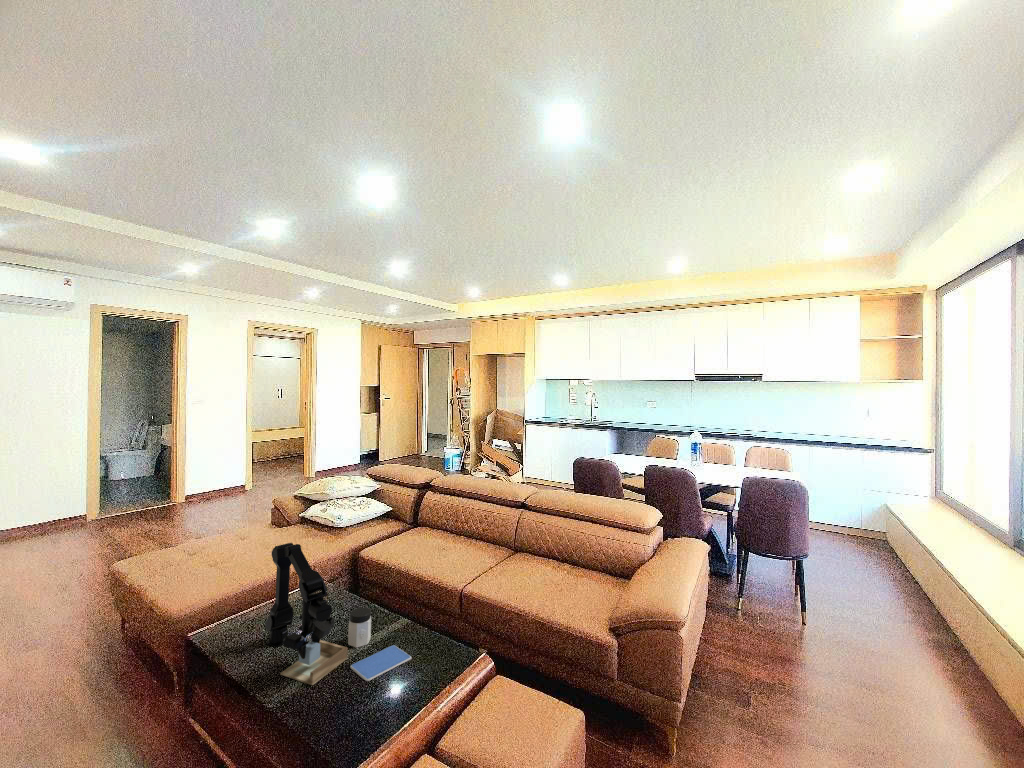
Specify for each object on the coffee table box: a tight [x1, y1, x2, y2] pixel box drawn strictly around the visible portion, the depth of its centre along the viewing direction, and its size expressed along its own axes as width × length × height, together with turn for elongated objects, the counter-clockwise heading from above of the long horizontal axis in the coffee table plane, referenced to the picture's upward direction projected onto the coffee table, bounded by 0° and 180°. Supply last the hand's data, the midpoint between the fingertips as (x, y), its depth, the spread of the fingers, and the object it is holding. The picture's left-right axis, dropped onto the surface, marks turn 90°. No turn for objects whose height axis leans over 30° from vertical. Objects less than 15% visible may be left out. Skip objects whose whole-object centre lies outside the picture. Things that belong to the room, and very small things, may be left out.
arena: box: [280, 639, 349, 686], centre depth 163 cm, size 15×17×4 cm
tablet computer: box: [349, 644, 413, 682], centre depth 166 cm, size 19×13×1 cm, turn 139°
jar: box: [347, 607, 372, 648], centre depth 179 cm, size 9×8×12 cm
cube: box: [298, 640, 320, 665], centre depth 161 cm, size 5×5×5 cm
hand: (309, 654), depth 161 cm, fingers closed on cube, 5 cm apart
